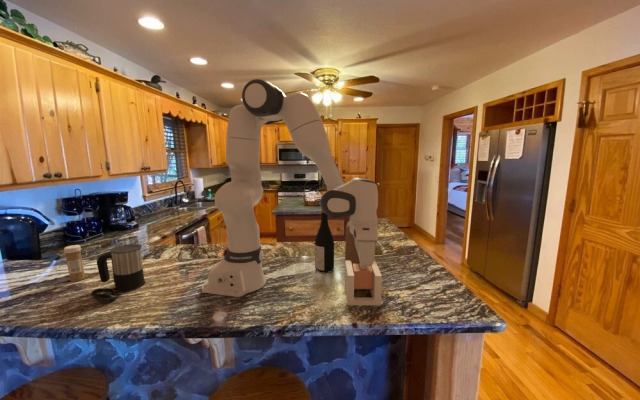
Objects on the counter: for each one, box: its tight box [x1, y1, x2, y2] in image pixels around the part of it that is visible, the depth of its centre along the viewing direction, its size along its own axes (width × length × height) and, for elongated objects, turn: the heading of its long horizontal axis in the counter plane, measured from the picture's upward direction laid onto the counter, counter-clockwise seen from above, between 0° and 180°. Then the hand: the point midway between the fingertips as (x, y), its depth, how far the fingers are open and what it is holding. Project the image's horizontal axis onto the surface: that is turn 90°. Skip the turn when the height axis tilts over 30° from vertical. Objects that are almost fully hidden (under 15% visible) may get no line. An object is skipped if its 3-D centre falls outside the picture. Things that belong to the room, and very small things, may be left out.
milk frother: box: [90, 243, 146, 303], centre depth 91 cm, size 14×16×15 cm
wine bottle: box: [314, 207, 335, 274], centre depth 106 cm, size 8×8×30 cm
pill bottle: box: [63, 244, 86, 283], centre depth 100 cm, size 5×5×13 cm
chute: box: [344, 260, 383, 306], centre depth 88 cm, size 11×12×10 cm
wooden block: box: [344, 220, 359, 266], centre depth 107 cm, size 10×10×20 cm
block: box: [352, 264, 373, 290], centre depth 88 cm, size 6×6×6 cm
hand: (362, 267), depth 87 cm, fingers closed, pressing on block
